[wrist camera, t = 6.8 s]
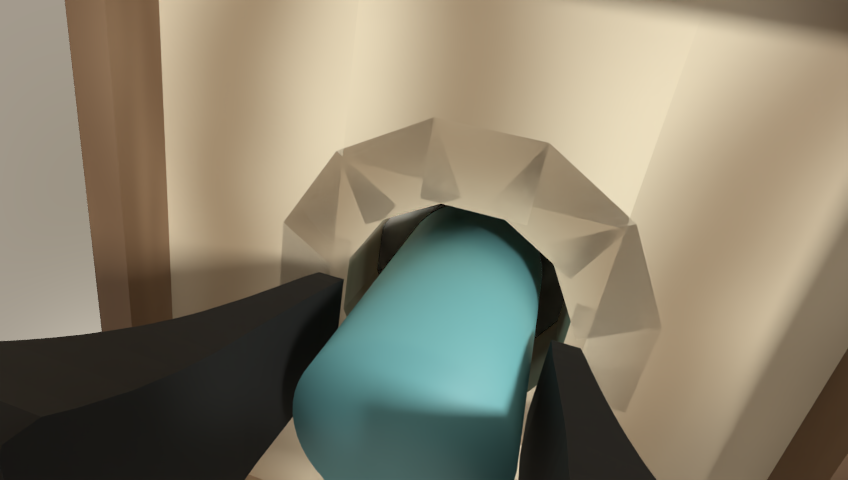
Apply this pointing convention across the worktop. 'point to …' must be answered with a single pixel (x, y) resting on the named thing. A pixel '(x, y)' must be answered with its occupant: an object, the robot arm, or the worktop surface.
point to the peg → (429, 360)
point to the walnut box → (505, 186)
